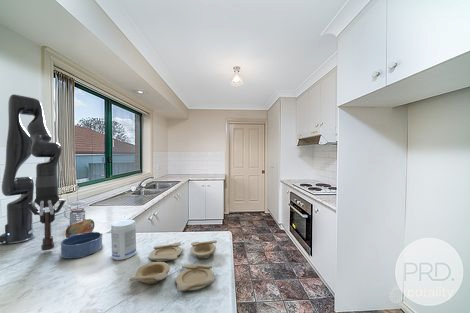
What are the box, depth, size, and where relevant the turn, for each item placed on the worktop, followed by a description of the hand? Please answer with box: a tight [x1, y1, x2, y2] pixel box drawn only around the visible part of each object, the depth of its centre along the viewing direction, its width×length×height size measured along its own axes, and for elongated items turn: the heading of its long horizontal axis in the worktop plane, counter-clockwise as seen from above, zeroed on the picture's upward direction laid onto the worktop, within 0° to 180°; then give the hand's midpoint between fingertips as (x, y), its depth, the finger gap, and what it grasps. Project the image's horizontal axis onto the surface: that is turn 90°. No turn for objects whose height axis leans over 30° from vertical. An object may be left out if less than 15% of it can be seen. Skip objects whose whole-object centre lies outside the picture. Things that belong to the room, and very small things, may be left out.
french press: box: [63, 185, 86, 226], centre depth 128 cm, size 10×12×25 cm
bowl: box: [60, 231, 103, 259], centre depth 94 cm, size 15×15×6 cm
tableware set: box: [129, 239, 218, 293], centre depth 81 cm, size 35×29×4 cm
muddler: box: [40, 210, 55, 252], centre depth 93 cm, size 4×4×17 cm
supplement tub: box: [110, 218, 137, 261], centre depth 90 cm, size 10×10×15 cm
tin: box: [64, 218, 95, 239], centre depth 110 cm, size 15×3×8 cm, turn 168°
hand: (47, 222), depth 93 cm, fingers closed on muddler, 2 cm apart
